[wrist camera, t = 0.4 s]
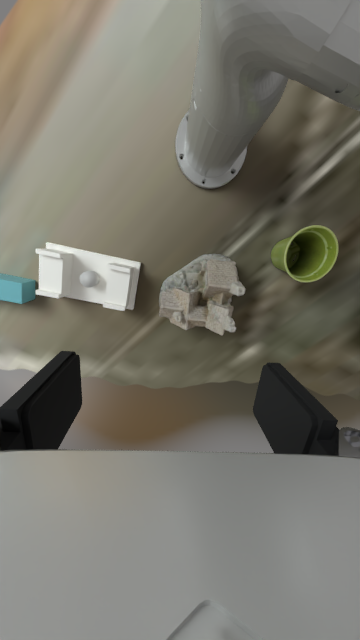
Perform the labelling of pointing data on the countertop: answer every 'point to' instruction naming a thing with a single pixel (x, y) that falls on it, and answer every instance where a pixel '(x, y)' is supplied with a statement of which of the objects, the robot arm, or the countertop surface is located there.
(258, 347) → the countertop surface
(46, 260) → the display cradle
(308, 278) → the plant pot
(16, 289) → the teal rectangular stick
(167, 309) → the grey irregular blocky piece
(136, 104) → the countertop surface
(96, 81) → the countertop surface
